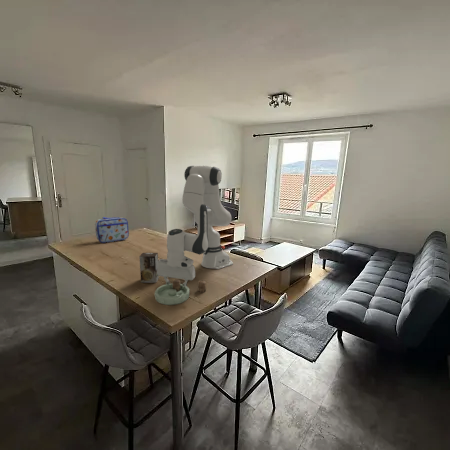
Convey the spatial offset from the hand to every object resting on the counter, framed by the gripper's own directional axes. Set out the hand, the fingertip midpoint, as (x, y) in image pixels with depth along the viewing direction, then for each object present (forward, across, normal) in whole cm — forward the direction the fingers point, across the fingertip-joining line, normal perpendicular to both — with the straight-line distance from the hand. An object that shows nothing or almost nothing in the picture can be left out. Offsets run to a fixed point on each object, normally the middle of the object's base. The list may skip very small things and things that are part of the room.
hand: (176, 285), depth 128 cm
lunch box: (+4, -94, +72) cm, 119 cm away
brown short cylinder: (+4, +13, +5) cm, 14 cm away
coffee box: (+4, -20, +9) cm, 23 cm away
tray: (+4, 0, -5) cm, 6 cm away
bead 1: (+3, 0, 0) cm, 3 cm away
